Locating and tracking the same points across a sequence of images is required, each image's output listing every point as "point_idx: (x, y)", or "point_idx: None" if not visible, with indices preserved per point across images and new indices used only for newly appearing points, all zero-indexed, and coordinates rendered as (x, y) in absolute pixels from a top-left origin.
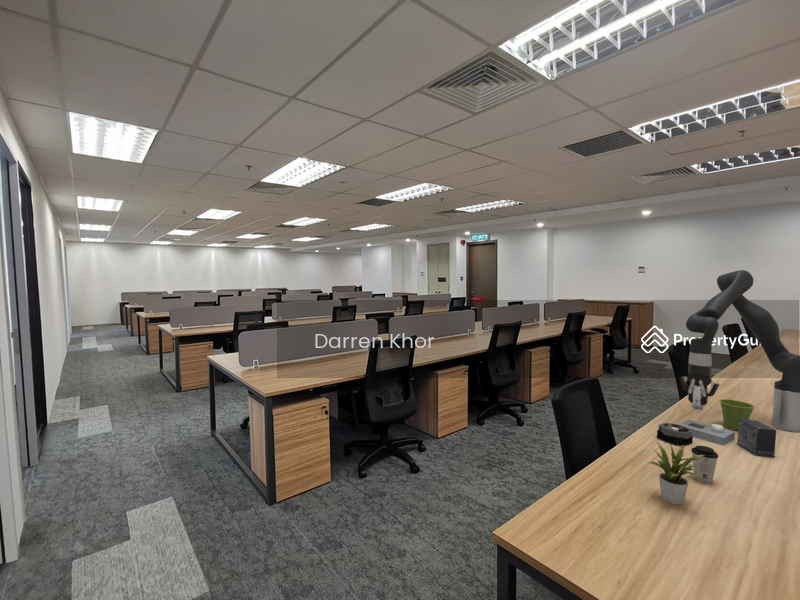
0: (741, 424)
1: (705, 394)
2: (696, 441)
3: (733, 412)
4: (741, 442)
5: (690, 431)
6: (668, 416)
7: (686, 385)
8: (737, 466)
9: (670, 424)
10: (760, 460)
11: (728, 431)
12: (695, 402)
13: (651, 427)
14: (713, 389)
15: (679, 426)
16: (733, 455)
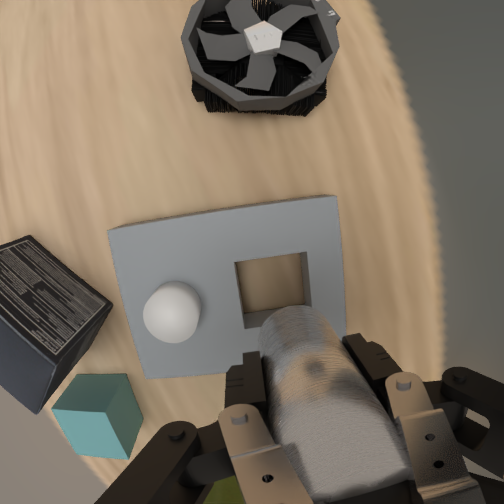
0: (46, 334)
1: (225, 428)
2: (202, 149)
3: (212, 499)
4: (81, 291)
5: (185, 52)
6: (428, 366)
7: (474, 444)
8: (24, 65)
9: (312, 66)
10: (8, 202)
11: (156, 356)
12: (305, 330)
13: (405, 136)
14: (115, 500)
15: (276, 97)
16: (56, 147)
